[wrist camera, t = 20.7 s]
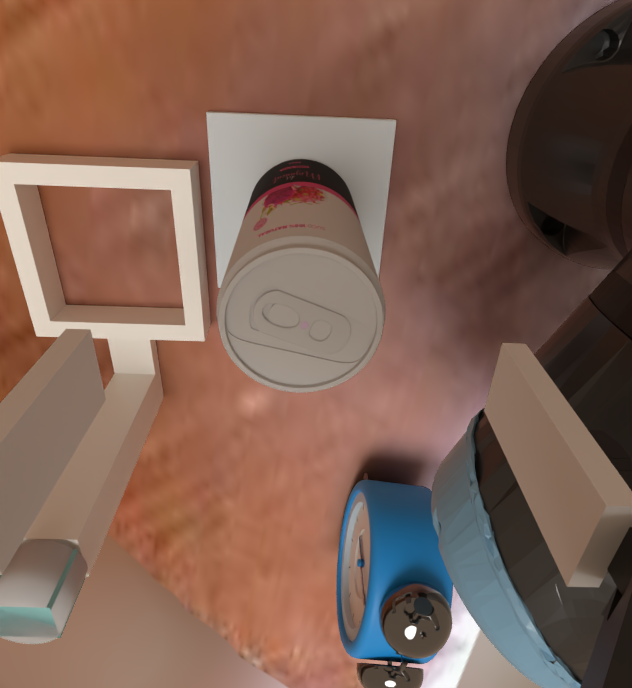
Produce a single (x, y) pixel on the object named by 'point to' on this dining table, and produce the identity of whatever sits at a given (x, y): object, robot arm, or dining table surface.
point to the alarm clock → (391, 583)
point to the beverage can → (301, 283)
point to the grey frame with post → (104, 329)
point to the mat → (288, 144)
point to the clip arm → (39, 591)
